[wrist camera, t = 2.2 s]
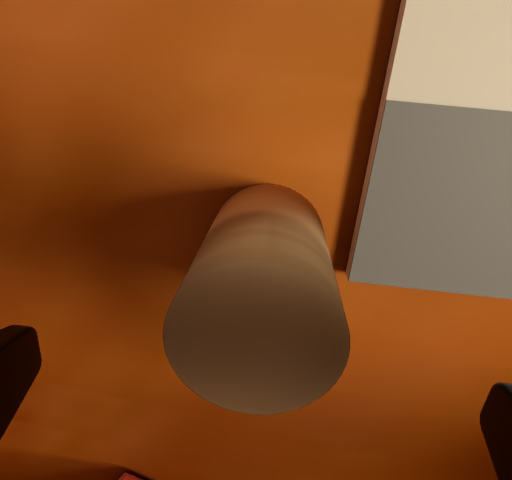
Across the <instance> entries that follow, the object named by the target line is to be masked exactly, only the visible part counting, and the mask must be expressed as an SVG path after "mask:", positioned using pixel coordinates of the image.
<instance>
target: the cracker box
mask: <svg viewBox="0 0 512 480" xmlns="http://www.w3.org/2000/svg"><path fill="white" fill-rule="evenodd" d="M119 480H143V479H140V478H138V477H136V476H134V475H131V474H128V473H124V474H123V475H122V476H121V477H120V478H119Z"/></svg>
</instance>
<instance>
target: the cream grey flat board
mask: <svg viewBox="0 0 512 480" xmlns="http://www.w3.org/2000/svg"><path fill="white" fill-rule="evenodd" d="M346 275H347V278H348V281H351V282H360V283H369V284H378V285H387V286H396V287H405V288H414V289H423V290H432V291H441V292H450V293H459V294H468V295H477V296H486V297H496V298H505V299H512V0H401V4H400V9H399V13H398V18H397V23H396V28H395V33H394V38H393V43H392V48H391V53H390V57H389V62H388V67H387V72H386V77H385V82H384V87H383V92H382V96H381V101H380V106H379V111H378V116H377V121H376V126H375V131H374V136H373V140H372V145H371V150H370V155H369V160H368V165H367V170H366V175H365V180H364V184H363V189H362V194H361V199H360V204H359V209H358V214H357V219H356V224H355V228H354V233H353V238H352V243H351V248H350V253H349V258H348V263H347V268H346Z"/></svg>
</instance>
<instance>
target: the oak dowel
mask: <svg viewBox="0 0 512 480" xmlns="http://www.w3.org/2000/svg"><path fill="white" fill-rule="evenodd" d="M163 340H164V347H165V351H166V355H167V357H168V360H169V362H170V364H171V366H172V368H173V369H174V371H175V373H176V374H177V375H178V376H179V378H180V379H181V380H182V381H183V382H184V383H185V384H186V385H187V386H188V387H189V388H190V389H191V390H192V391H193V392H195V393H196V394H197V395H199V396H200V397H202V398H203V399H205V400H207V401H209V402H211V403H213V404H215V405H217V406H219V407H222V408H225V409H227V410H231V411H235V412H239V413H245V414H255V415H271V414H279V413H284V412H289V411H293V410H296V409H299V408H301V407H304V406H306V405H308V404H310V403H312V402H314V401H315V400H317V399H318V398H320V397H321V396H323V395H324V394H325V393H326V392H328V391H329V390H330V389H331V388H332V386H333V385H334V384H335V383H336V382H337V380H338V379H339V378H340V376H341V375H342V373H343V371H344V369H345V367H346V364H347V361H348V357H349V351H350V334H349V328H348V324H347V320H346V316H345V312H344V308H343V304H342V300H341V297H340V293H339V289H338V285H337V281H336V277H335V273H334V269H333V266H332V262H331V258H330V254H329V250H328V246H327V242H326V238H325V235H324V231H323V227H322V223H321V220H320V217H319V215H318V213H317V211H316V210H315V208H314V207H313V206H312V204H311V203H310V202H309V201H308V200H307V199H306V198H305V197H303V196H302V195H301V194H299V193H298V192H296V191H294V190H292V189H290V188H287V187H284V186H280V185H274V184H260V185H254V186H250V187H247V188H245V189H242V190H241V191H239V192H237V193H235V194H234V195H233V196H231V197H230V198H229V199H228V200H227V201H226V202H225V203H224V204H223V206H222V207H221V209H220V210H219V212H218V214H217V216H216V218H215V219H214V221H213V223H212V225H211V227H210V229H209V231H208V233H207V235H206V237H205V239H204V241H203V243H202V245H201V246H200V248H199V250H198V252H197V254H196V256H195V258H194V260H193V262H192V264H191V266H190V268H189V270H188V272H187V273H186V275H185V277H184V279H183V281H182V283H181V285H180V287H179V289H178V291H177V293H176V295H175V297H174V298H173V300H172V302H171V304H170V306H169V309H168V311H167V314H166V317H165V321H164V327H163Z"/></svg>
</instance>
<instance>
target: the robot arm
mask: <svg viewBox="0 0 512 480" xmlns="http://www.w3.org/2000/svg"><path fill="white" fill-rule="evenodd" d="M41 361H42V360H41V353H40V348H39V342H38V336H37V332H36V330H35V329H34V328H33V327H30V326H21V325H10V326H8V327H5V328H3V329H0V440H1V438H2V436H3V435H4V433H5V431H6V429H7V428H8V426H9V424H10V422H11V420H12V419H13V417H14V415H15V413H16V412H17V410H18V408H19V406H20V404H21V403H22V401H23V399H24V397H25V396H26V394H27V392H28V390H29V388H30V387H31V385H32V383H33V381H34V380H35V378H36V376H37V374H38V372H39V370H40V367H41ZM480 426H481V429H482V432H483V435H484V438H485V441H486V445H487V448H488V451H489V454H490V457H491V460H492V463H493V466H494V469H495V472H496V475H497V478H498V480H512V384H509V383H496V384H494V385H493V386H492V388H491V390H490V392H489V394H488V397H487V399H486V401H485V403H484V406H483V408H482V410H481V413H480Z"/></svg>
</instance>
